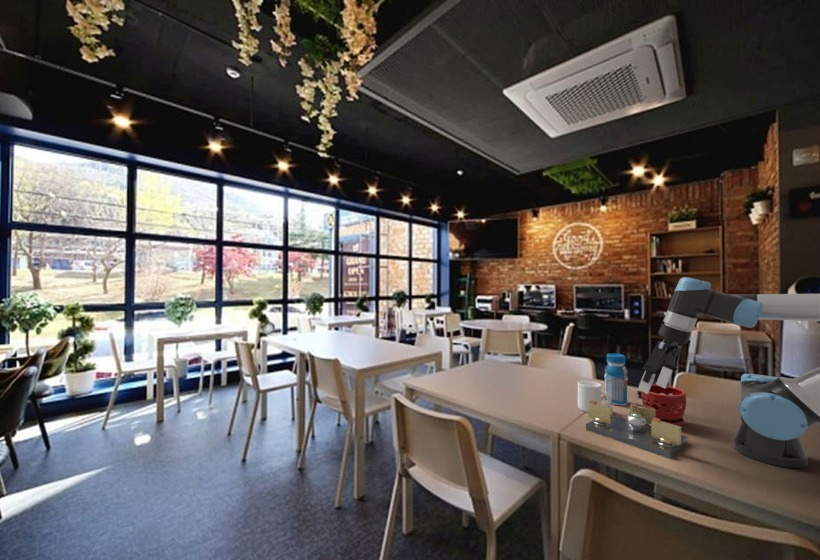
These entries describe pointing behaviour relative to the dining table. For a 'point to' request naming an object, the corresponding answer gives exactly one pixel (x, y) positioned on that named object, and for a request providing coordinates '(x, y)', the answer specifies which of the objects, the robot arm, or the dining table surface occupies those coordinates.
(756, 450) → the robot arm
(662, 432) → the knob
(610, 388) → the beverage bottle
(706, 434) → the dining table surface
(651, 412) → the knob rear
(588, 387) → the mug
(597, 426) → the levelling plate
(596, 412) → the knob
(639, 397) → the end cap
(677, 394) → the plant pot
